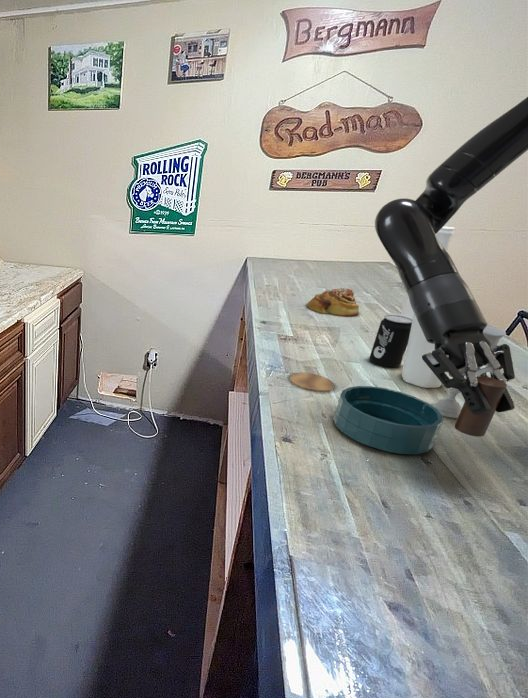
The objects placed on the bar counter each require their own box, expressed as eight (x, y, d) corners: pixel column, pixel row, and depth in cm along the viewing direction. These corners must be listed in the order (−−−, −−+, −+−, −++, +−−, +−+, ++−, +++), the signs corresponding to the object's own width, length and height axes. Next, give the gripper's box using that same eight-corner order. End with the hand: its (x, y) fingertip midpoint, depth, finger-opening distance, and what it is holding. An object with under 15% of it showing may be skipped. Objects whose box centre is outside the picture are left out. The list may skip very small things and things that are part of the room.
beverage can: (400, 371, 111) (416, 324, 107) (368, 364, 115) (382, 319, 110) (399, 361, 116) (414, 317, 112) (368, 356, 120) (382, 312, 115)
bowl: (414, 420, 90) (424, 393, 88) (445, 465, 77) (458, 434, 75) (326, 406, 95) (333, 380, 93) (341, 446, 82) (350, 417, 79)
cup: (389, 368, 113) (412, 301, 106) (440, 376, 109) (467, 307, 102) (398, 386, 104) (423, 315, 97) (454, 396, 100) (485, 322, 93)
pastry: (361, 318, 148) (368, 294, 145) (310, 313, 153) (315, 290, 150) (352, 307, 160) (359, 284, 156) (305, 302, 164) (310, 280, 161)
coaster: (329, 378, 108) (330, 376, 108) (337, 394, 100) (337, 392, 100) (287, 372, 111) (288, 370, 110) (292, 388, 103) (292, 386, 103)
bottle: (396, 328, 140) (430, 227, 128) (396, 321, 146) (428, 224, 134) (429, 333, 136) (467, 229, 123) (427, 326, 141) (463, 226, 129)
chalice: (430, 416, 92) (463, 332, 84) (419, 401, 98) (449, 321, 90) (475, 423, 89) (513, 337, 82) (461, 407, 95) (496, 326, 88)
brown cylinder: (478, 426, 72) (499, 378, 68) (489, 438, 69) (512, 388, 65) (450, 422, 73) (469, 374, 70) (460, 434, 70) (480, 384, 67)
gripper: (427, 299, 69) (479, 409, 63) (505, 295, 71) (562, 401, 65) (387, 321, 76) (430, 422, 70) (459, 316, 78) (507, 414, 72)
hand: (494, 411), depth 67 cm, fingers closed on brown cylinder, 3 cm apart
